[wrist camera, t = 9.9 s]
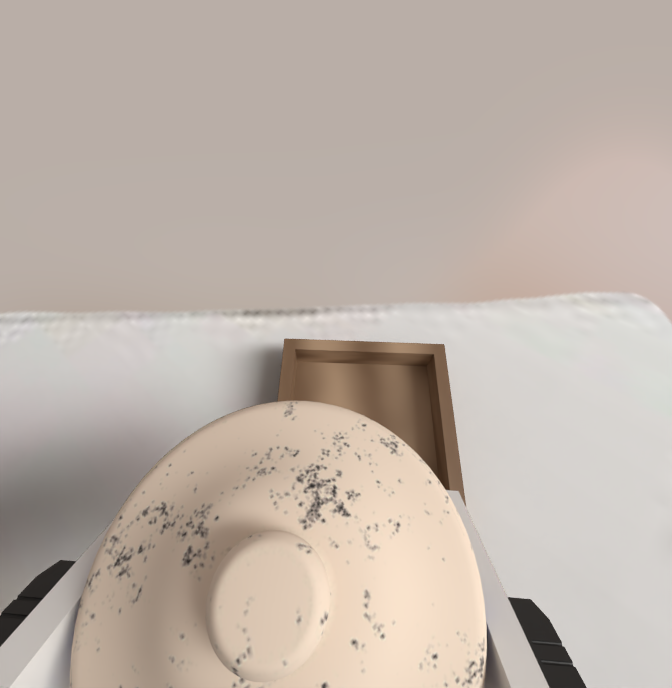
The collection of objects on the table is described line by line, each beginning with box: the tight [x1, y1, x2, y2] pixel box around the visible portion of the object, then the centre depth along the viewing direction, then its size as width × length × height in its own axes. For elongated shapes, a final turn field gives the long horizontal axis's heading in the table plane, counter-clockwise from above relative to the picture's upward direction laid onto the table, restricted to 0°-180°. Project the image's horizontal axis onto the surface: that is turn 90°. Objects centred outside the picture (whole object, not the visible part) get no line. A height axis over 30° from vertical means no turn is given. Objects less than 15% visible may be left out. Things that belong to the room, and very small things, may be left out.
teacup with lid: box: [70, 401, 487, 688], centre depth 10 cm, size 12×9×12 cm
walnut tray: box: [277, 339, 466, 506], centre depth 28 cm, size 14×17×4 cm
